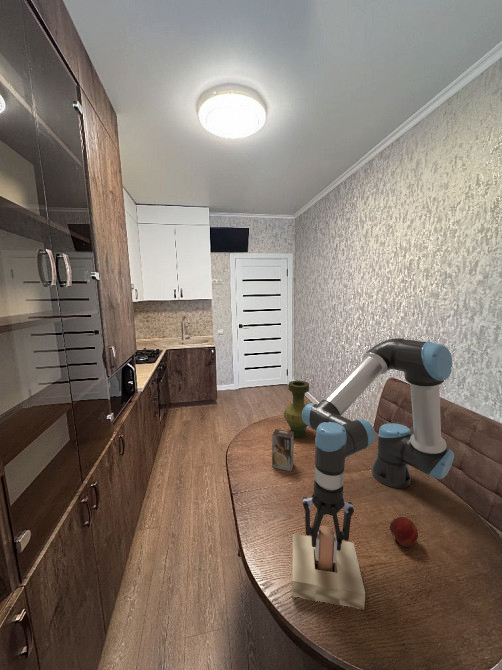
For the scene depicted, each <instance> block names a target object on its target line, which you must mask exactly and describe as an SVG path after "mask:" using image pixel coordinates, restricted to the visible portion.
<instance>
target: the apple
mask: <svg viewBox="0 0 502 670" xmlns="http://www.w3.org/2000/svg"><path fill="white" fill-rule="evenodd" d="M389 530H390V532H391V534H392V535H393V537H394V539H396V541H397V542H398V544H399V545H401V546H403V547H412V546H414V544H416V542H417V540H418V538H419V531H418V529H417V526H416V525H415V524H414V522H413V521H412V520H411V519H409V518H407V517H405V516H399V517H395V518H394V519H393V520H392V521H391V522H390V525H389Z"/></svg>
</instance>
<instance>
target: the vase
mask: <svg viewBox="0 0 502 670" xmlns="http://www.w3.org/2000/svg"><path fill="white" fill-rule="evenodd" d="M288 390H289V391H290V392H291V393H292V394H291V395H292V403H291V404H289V405H288V406H286V407H285V408H284V412H283V418H284V419H285V421H286V423H287V424H288V426H289V428H290V430H289V431H290V432H294V439H304V438H305V437H306V436H307V433H306V429H307V428H308V427H309V426H308V425H306V424H305V423H304V422H303V420H302V411H303V409H304V407H305V406H306V405H307V404H305V394H306V393H309V391H310V383H309V382H307V381H304V380H292V381H289V382H288Z"/></svg>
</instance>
